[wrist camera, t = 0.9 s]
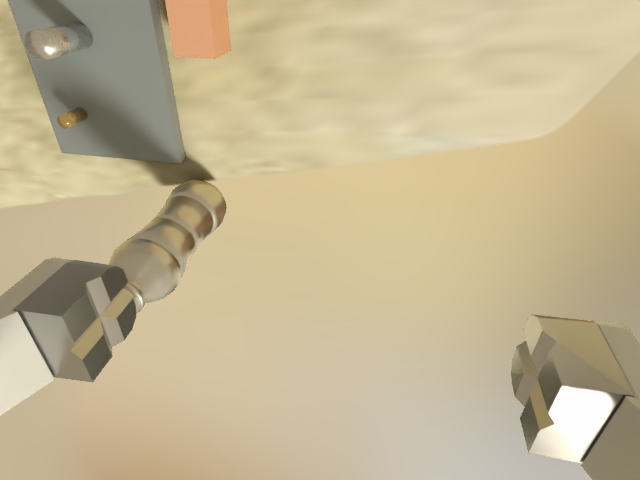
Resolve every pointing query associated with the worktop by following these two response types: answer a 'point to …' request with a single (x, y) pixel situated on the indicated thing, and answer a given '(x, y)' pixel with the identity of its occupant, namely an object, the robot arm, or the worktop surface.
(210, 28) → the orange hollow block
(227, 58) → the worktop surface
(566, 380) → the robot arm
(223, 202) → the plastic bottle
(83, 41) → the post
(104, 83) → the board
